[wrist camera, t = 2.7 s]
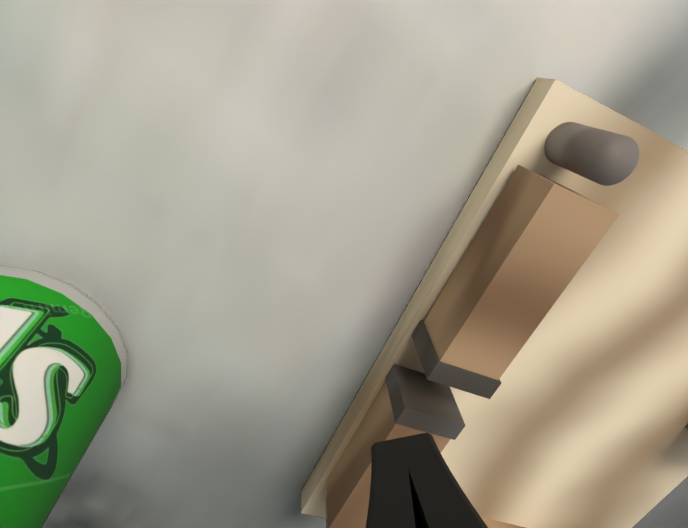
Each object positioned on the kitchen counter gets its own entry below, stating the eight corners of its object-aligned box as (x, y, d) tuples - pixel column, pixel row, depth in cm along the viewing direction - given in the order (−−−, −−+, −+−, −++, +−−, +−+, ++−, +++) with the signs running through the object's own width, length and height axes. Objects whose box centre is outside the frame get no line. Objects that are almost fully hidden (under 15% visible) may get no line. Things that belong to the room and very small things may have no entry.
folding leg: (514, 162, 14) (553, 183, 12) (575, 191, 15) (624, 216, 13) (411, 335, 17) (427, 379, 15) (466, 353, 18) (489, 399, 15)
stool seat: (876, 257, 19) (1002, 303, 15) (570, 553, 27) (607, 625, 23) (537, 77, 14) (606, 84, 11) (301, 491, 23) (299, 568, 19)
